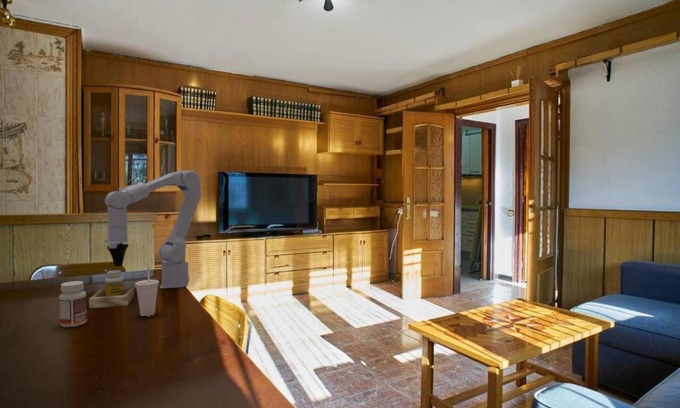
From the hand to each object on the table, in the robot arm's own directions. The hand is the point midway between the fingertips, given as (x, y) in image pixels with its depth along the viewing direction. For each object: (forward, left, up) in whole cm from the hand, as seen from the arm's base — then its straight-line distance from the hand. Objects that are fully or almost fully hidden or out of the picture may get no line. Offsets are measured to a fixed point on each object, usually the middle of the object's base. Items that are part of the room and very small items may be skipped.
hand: (118, 266), depth 134 cm
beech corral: (0, +8, -10) cm, 13 cm away
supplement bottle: (0, +6, -10) cm, 12 cm away
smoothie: (-13, +24, -10) cm, 29 cm away
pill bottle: (+5, +27, -10) cm, 29 cm away
